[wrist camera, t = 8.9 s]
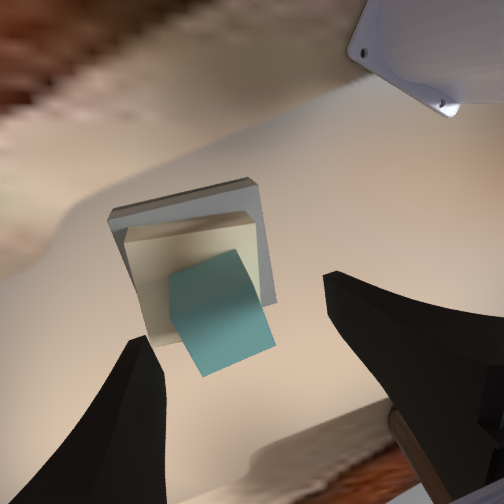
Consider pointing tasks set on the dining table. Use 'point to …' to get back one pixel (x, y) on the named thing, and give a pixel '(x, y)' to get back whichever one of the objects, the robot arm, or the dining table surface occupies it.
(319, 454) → the dining table surface
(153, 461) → the robot arm
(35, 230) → the dining table surface
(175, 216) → the base slab
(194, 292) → the teal cube
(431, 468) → the plant pot
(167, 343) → the top slab
